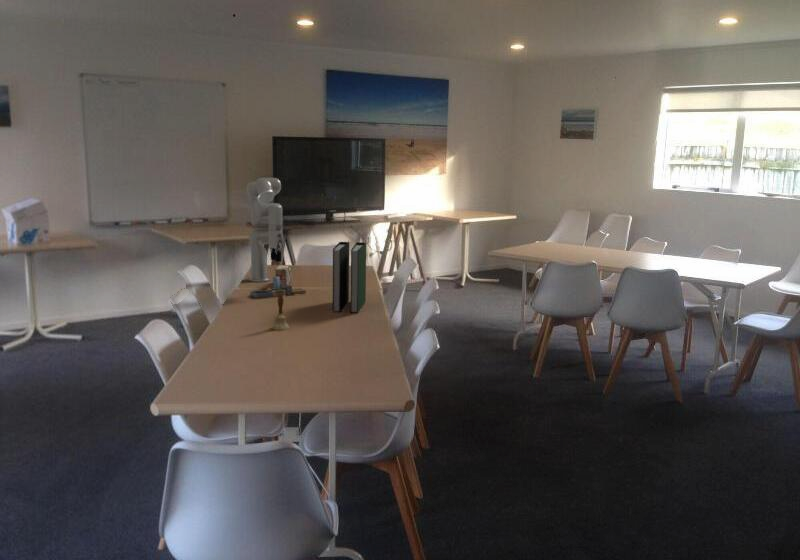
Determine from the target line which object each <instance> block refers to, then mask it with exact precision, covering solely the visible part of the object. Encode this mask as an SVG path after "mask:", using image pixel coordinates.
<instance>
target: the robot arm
mask: <svg viewBox="0 0 800 560" xmlns="http://www.w3.org/2000/svg"><path fill="white" fill-rule="evenodd" d="M281 189H282V184H281V180H279V178H277V177H260V178H258V179H256V181H250V182H249V183H247V185H246V194H247V197H248V200H249V204H250V222H251V225H252V226H255V227H262V228H254V229H251V230H249V233H248V239H249V245H250V263H251V264H250V265H251V266H250V267H251V269H250V270H251V274H250V275H251V276H250V277H249V278H248V281H250V282H253V283H254V282H255V283H261V282H262V283H263V282H264V283H265V282H269V281H270V280H271V277H268V252H267V248H265V246H263V245H268V246H269V249H270V261H275V262H276V263H277V262H278V263H279V262H282V253H283V252H282V251H283V249H284V247H285V241H284V231H283V205H282V204H280V203H277V202H275V203H273V202H272V201H273V200H274V198H275V196H277V194H279V193H280V191H281ZM271 202H272V203H271ZM263 227H268V228H263Z"/></svg>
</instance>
